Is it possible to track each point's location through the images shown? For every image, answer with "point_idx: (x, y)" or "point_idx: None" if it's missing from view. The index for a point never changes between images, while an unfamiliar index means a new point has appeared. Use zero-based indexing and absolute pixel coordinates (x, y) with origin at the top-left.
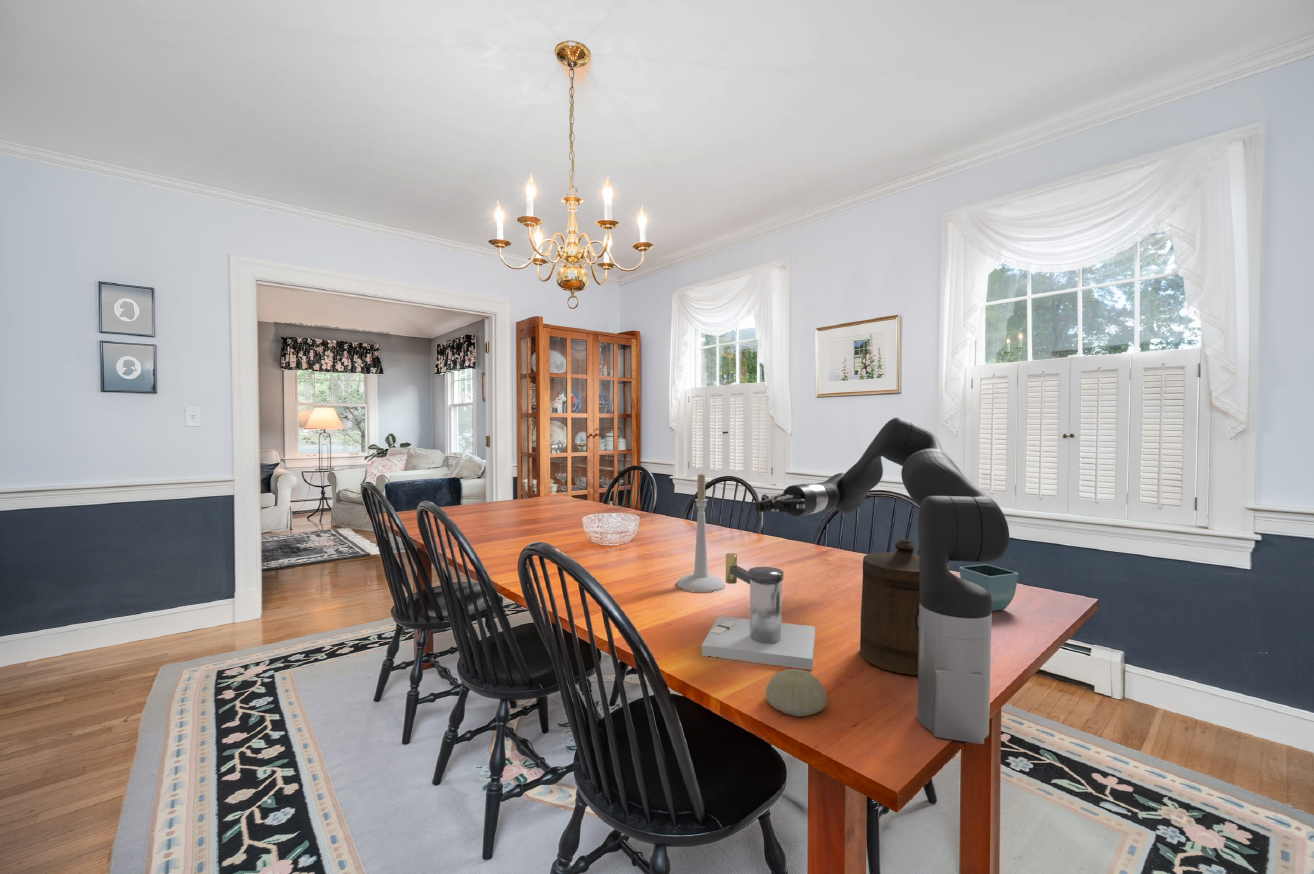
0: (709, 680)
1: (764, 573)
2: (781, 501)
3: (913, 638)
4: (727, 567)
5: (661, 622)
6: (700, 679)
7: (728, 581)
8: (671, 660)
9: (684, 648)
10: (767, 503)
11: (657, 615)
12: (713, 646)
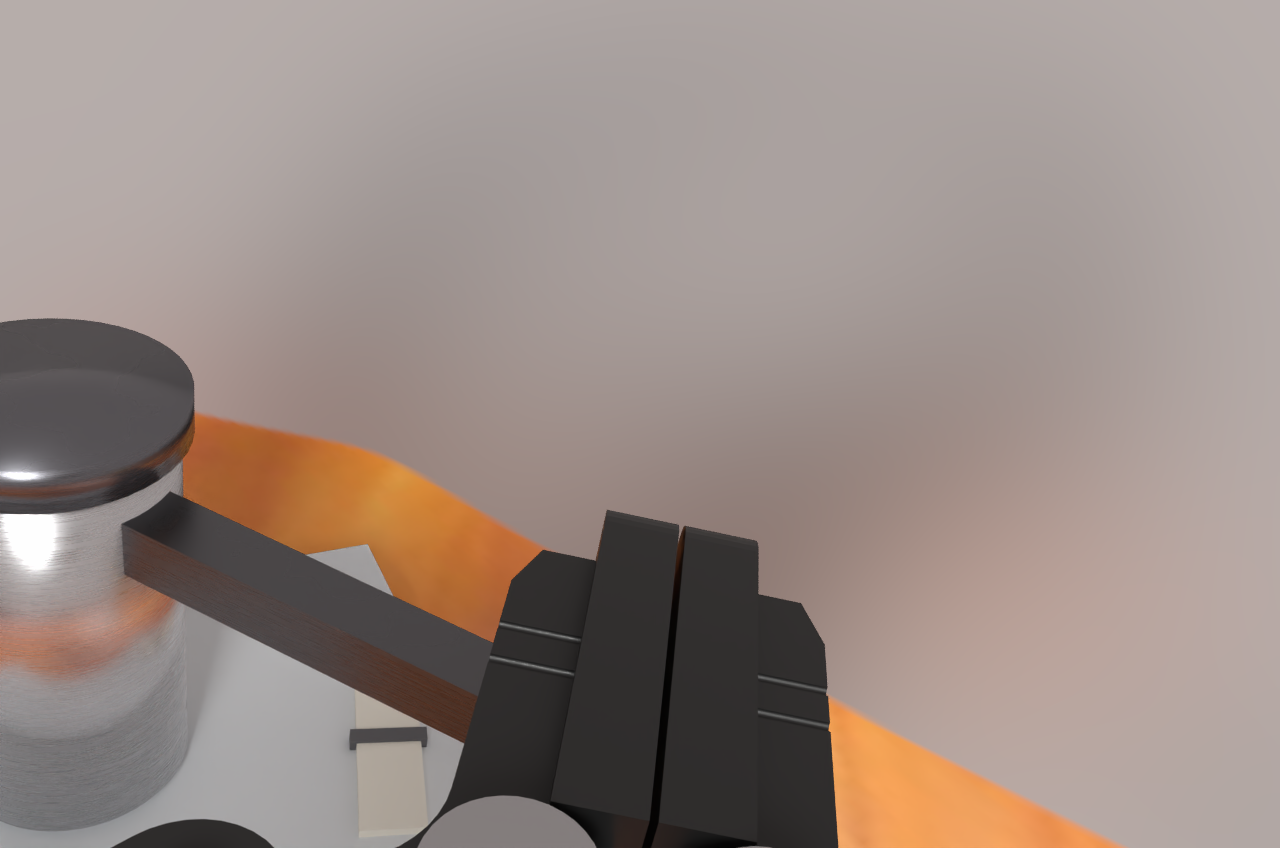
0: (220, 461)
1: (42, 353)
2: (147, 833)
3: None
4: None
5: None
6: (256, 454)
7: None
8: (446, 509)
9: (476, 602)
10: (535, 672)
11: (917, 838)
12: (309, 554)
